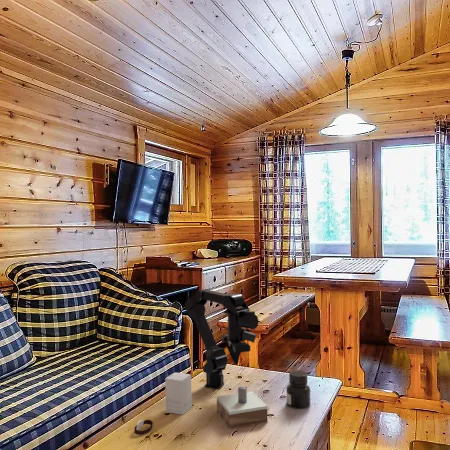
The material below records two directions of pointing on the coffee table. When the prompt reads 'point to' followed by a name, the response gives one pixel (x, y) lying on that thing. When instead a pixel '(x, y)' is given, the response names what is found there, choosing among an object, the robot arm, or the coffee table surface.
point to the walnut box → (242, 417)
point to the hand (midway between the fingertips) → (235, 363)
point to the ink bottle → (298, 390)
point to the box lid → (241, 402)
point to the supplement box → (178, 393)
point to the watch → (141, 426)
